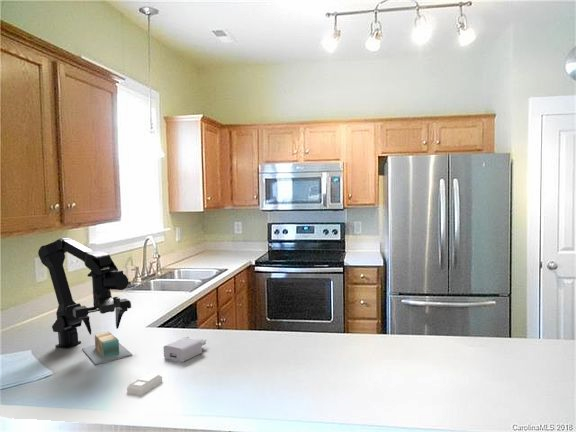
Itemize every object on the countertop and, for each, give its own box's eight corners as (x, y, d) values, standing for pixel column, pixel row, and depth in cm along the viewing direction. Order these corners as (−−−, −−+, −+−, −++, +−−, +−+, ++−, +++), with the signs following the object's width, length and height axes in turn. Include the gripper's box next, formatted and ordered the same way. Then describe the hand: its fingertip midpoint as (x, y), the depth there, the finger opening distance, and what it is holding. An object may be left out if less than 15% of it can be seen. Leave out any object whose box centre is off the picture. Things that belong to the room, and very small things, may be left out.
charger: (214, 348, 150) (183, 363, 137) (195, 344, 155) (163, 358, 142) (213, 335, 150) (182, 349, 137) (194, 332, 155) (163, 345, 142)
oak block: (94, 334, 154) (103, 343, 143) (108, 331, 157) (118, 339, 146) (95, 347, 154) (104, 357, 144) (109, 344, 157) (119, 353, 147)
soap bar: (162, 382, 124) (161, 373, 124) (141, 396, 115) (140, 387, 115) (149, 380, 126) (148, 371, 125) (127, 394, 117) (126, 384, 117)
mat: (82, 349, 155) (82, 347, 155) (116, 341, 162) (116, 340, 162) (95, 364, 139) (95, 363, 139) (132, 355, 146) (132, 354, 146)
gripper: (77, 296, 139) (80, 343, 140) (134, 287, 151) (137, 330, 151) (71, 291, 148) (74, 335, 149) (125, 283, 159) (127, 324, 160)
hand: (104, 331), depth 152 cm, fingers open, 9 cm apart
